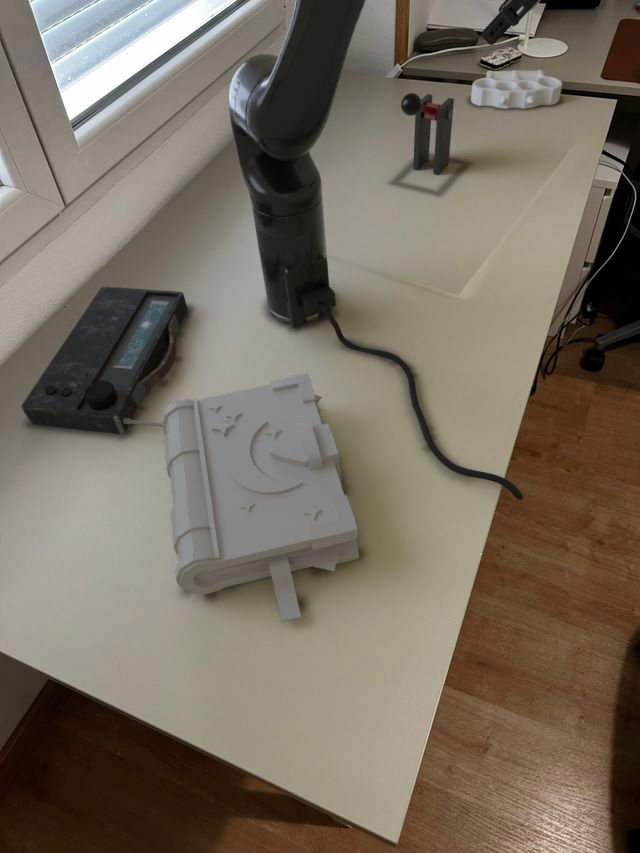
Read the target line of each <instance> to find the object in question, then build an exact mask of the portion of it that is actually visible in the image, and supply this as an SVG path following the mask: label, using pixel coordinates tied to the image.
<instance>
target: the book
mask: <svg viewBox="0 0 640 853" xmlns="http://www.w3.org/2000/svg"><path fill="white" fill-rule="evenodd" d="M322 398H323V397H322V396H320V395H318V394H315V391H314V387H313V384H312V379H311V377H310V375H309V372H307V373H300V374H296V375H295V374H294V375H291V376H287V377H282V378H280V379H276V380H272V381H270V384H264V385H260V386H256V387H251V388H247V389H243V390H236V391H233V392H229V393H223V394H219V395H215V396H210V397H206V398H201V399H197V398H196V399H190V398H187V399H182V400H175V401H173V402H172V403H171V404H170V405H169V406H167V407H166V408H165V409H164V410H163V414H162V418H161V423H162V427H161V428H162V431H163V433H164V434H165V435H166V438H165V441H164V453H165V465H166V472H167V476H168V477H169V479H170V487H171V498H172V508H171V511H170V520H171V530H172V541H173V550H174V552H175V554H176V555H177V559H178V562H177V566H176V568H175V580H176V584H177V586H179V587H180V588H182V589H184V590H185V591H188V592H190V593H193V594H204V595H205V594H206V595H209V594H213V593H215V592H219V591H222V590H223V589H225V588H228V587H232V586H236V585H237V586H238V585H241V584H245V583H249V582H252V581H257V580H261V579H265V578H270V577H271V579H272V585H273V588H274V594H275V597H276V598H275V599H276V603H277V607H278V612H279V617H280V622H281V623H287V622H290V621H295V620H298V619H302V615H301V610H300V606H299V602H298V597H297V593H296V588H295V583H294V579H293V575H292V572H294V571H299V570H303V569H307V568H311V567H314V568H315V569H322V570H327V571H332V572H335V570H336V566H337V565H338V564H344V563H347V562H351V561H355V560H358V559H360V553H359V545H358V534H359V531H358V526H357V521H356V518H355V515H354V512H353V509H352V507H351V503H350V501H349V499H348V496H347V494H345V493H344V490H343V487H342V478H343V477H342V475H343V474H342V467H341V466H342V465H341V462H340V455H339V451H338V448H337V445H336V442H335V438H334V436H333V432H332V430H331V427H330V423H328V422H327V423H324V424H322V420H321V417H320V414H319V410H318V409H319V405H318V403H319V402H320V401H321V400H322Z"/></svg>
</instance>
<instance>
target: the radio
mask: <svg viewBox="0 0 640 853" xmlns="http://www.w3.org/2000/svg"><path fill="white" fill-rule="evenodd" d="M188 311H189V308H188V305H187V301H186V298H185V294H184V292H183V291H175V290H161V289H147V288H146V289H145V288H131V287H118V286H117V287H116V286H115V287H114V286H101V287H100V288H99V289H98V291H97V293H96V294H95V296H93V299H92V300H91V301H90V303H89V305H88V306H87V307H86V309H85V311H83V314H82V315H81V316H80V318H79V319H78V321H77V322H76V324H75V325H74V327H73V329H71V331H70V333H69V334H68V336H67V337H66V339H65V340H64V342H63V343H62V345H61V346H60V347H59V349H58V351H57V352H56V354H55V355H54V356H53V358H52V359H51V361H50V362H49V364H48V365H47V367H46V368H45V370H43V372H42V375H40V377H39V379H38V381H36V383H35V385H34V386H33V387H32V389H31V391H30V392H29V394H27V396H26V398H25V399H24V400H23V403H22V404H21V406H20V409H21V410H22V412H23V413H24V415H25V416H26V418H27V419H28V421H29V423H30V424H31V425H33V426H34V425H35V426H42V427H43V426H44V427H52V428H61V429H62V428H63V429H71V430H77V431H79V430H80V431H88V432H97V433H104V434H105V433H106V434H114V435H124V434H125V433H126V431H127V429H128V427H129V426H130V425H139V426H149V427H150V426H151V427H158V428H163V427H162V422H156V421H148V420H138V419H133V417H134V415H135V413H136V411H137V409H138V408H139V407H140V405H141V403H142V401H143V400H144V398H145V397H146V395H147V392H149V391H150V390H151V389H152V388H153V387H155V386H156V385H157V384H158V383H160V382H161V381H162V380H164V378H165V377H166V376H167V375H168V373H169V372H170V371H171V369H172V367H173V366H174V363H175V360H176V359H175V358H176V355H177V349H176V347H177V346H176V341H175V340H176V339H175V338H176V337H177V334H178V332H179V328H180V326H181V324H182V323H183V321H184V318H185V317H186V314H187V313H188Z"/></svg>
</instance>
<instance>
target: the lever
mask: <svg viewBox="0 0 640 853" xmlns="http://www.w3.org/2000/svg"><path fill="white" fill-rule="evenodd" d="M421 99H422V98H421V97H420V96H419V95H418V94H417V93H414V92H409V93H406V94H405V95H404V96H403V97H402V99H401V102H400V107H401V111H402V112H403V113H404V115H406V116H409V117H410V116H411V117H413V116H415V114H417V113H418V112H419V111H421V112H424V113H425V114H424V118H426V119H430V120H431V121H435V122H437V108H438V107H439V106H440V105H441V104H438V103H433V102H432V103H428V102H427V106H426V105H423V104H421Z"/></svg>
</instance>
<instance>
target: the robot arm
mask: <svg viewBox="0 0 640 853" xmlns="http://www.w3.org/2000/svg"><path fill="white" fill-rule="evenodd" d="M541 1H542V0H504V1H503V2H502V4H500V6H499V7H498V14H497V15H495V16H494V18H493V19H492V20H491V21H490V22H489V23H488V24H487V26H486V27H485V28H484V29H483V31H482V32H481V37H482V38H483V39H484V40H485V41H486V42H487V44H488V45H489V46H493V45H495V44H496V43H497V42H498V41H499V39H501V37H503V35H504V34H505V33H506V32H507V31H508V30H509V29H510V28H511V27H513V28H514V27H515V26H517V25H519V23H520V21H521V20H522V19H523V18H524V17H525V16H526V15H527V14H528V13H529V12H531V11H532V10H534V9H535V8H536V6H537V5H538V4H539V3H540V2H541ZM365 4H366V0H294V5H293V10H292V15H291V19H290V23H289V27H288V30H287V32H286V35H285V38H284V41H283V44H282V46H281V49H280V52H279V54H278V55H275V54H272V53H260V54H256V55H252V56H251V57H249V58H247V59H246V60H244V61H243V62H242V63H241V64H240V65H239V67H237V69H236V71H235V72H234V74H233V76H232V79H231V82H230V85H229V90H228V100H227V101H228V114H229V119H230V120H229V121H230V125H231V129H232V136H233V141H234V146H235V150H236V151H235V152H236V155H237V159H238V160H237V161H238V164H239V168H240V173H241V176H242V179H243V181H244V183H245V185H246V187H247V191H248V193H249V199H250V203H251V209H252V215H253V222H254V226H255V234H256V241H257V246H258V252H259V259H260V265H261V270H262V276H263V283H264V289H265V294H266V304H267V310H268V313H269V314H270V315H271V316H272V317H273V318H274V319H275V320H277V321H279V322H280V323H281V322H282V323H284V324H288V325H291V327H292V328H294V329H295V328H298V327H300V326H304V325H306V324H309V323H311V322H314V321H317V320H319V319H321V318H324V317H326V318H327V320H328V321H329V323H330V324H331V326H332V327H333V329H334V332H335V334H336V337H337V339H338V340H339V342H340V343H341V344H342V345H344V346H345V347H346V348H348V349H351V350H353V351H357V352H362V353H366V354H369V355H372V356H377V357H382V358H386V359H388V360H391V361H393V362H395V363H396V364H397V365H399V366H400V367H401V369H402V370H403V371H404V373H405V376H406V378H407V380H408V381H407V383H408V388H409V396H410V397H409V398H410V401H411V406H412V408H413V411H414V414H415V415H416V418H417V420H418V423H419V426H420V429H421V432H422V435H423V439H424V440H425V442H426V444H427V446H428V448H429V449H430V451H431V452H432V454H433V455H434V456H435V457H436V458H437V460H438V461H439V462H440V463H442V465H443V466H445V467H446V468H448V469H449V470H451V471H452V472H454V473H457V474H459V475H462V476H467V477H469V478H471V477H472V478H474V479H480V480H485V481H490V482H493V483H496V484H499V485H501V486H502V487H504V488H505V489H506V490H508V491H509V492H510V493H511V494H512V495H513V497H514V498H515V499H517V500H519V501H522V500H524V496H523V494H522V492H521V491H520V490H519V488H518V486H517V487H516V485H515V484H513V483H512V482H511V481H509V480H508V479H506V478H505V477H502V476H500V475H497V474H495V473H490V472H486V471H482V470H481V471H480V470H477V469H476V470H475V469H470V468H466V467H464V466H460V465H457V464H456V463H454V462H452V461H451V460H450V459H448V457H446V456H445V455H444V454H443V453H442V452H441V451H440V450H439V448H438V447H437V445H436V443H435V441H434V439H433V437H432V435H431V433H430V430H429V428H428V425H427V421H426V419H425V416H424V414H423V411H422V408H421V407H420V404H419V399H418V394H417V387H416V382H415V378H414V374H413V372H412V370H411V368H410V367H409V365H408V364H407V363H406V362H405V361H404V360H403V359H402V358H401V357H399V356H398V355H396V354H394V353H392V352H388V351H385V350H380V349H372V348H367V347H362V346H359V345H356V344H355V343H353V342H351V341H349V339H347V338H346V337H345V336H344V334H343V332H342V329H341V326H340V325H339V323H338V322H337V320H336V318H335V317H334V315H333V314H332V308H333V307H336V305H337V304H336V292H335V291H334V290H333V289H332V288H331V286H330V278H329V265H328V264H329V263H328V257H327V256H328V255H327V254H328V252H327V241H326V226H325V214H324V212H325V211H324V200H323V198H324V197H323V187H322V186H323V184H322V177H321V174H320V170H319V168H318V167H317V165H316V164H315V162H314V160H313V158H312V155H311V153H310V151H311V150H312V149H313V148H314V147H315V145H316V144H317V142H318V141H319V139H320V138H321V136H322V134H323V132H324V130H325V128H326V124H327V122H328V119H329V117H330V113H331V110H332V107H333V104H334V101H335V100H334V99H335V97H336V93H337V89H338V86H339V82H340V79H341V76H342V75H341V74H342V71H343V69H344V68H343V67H344V64H345V60H346V57H347V54H348V51H349V47H350V45H351V41H352V38H353V36H354V33H355V30H356V28H357V25H358V22H359V20H360V17H361V15H362V11H363V9H364V6H365Z"/></svg>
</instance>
